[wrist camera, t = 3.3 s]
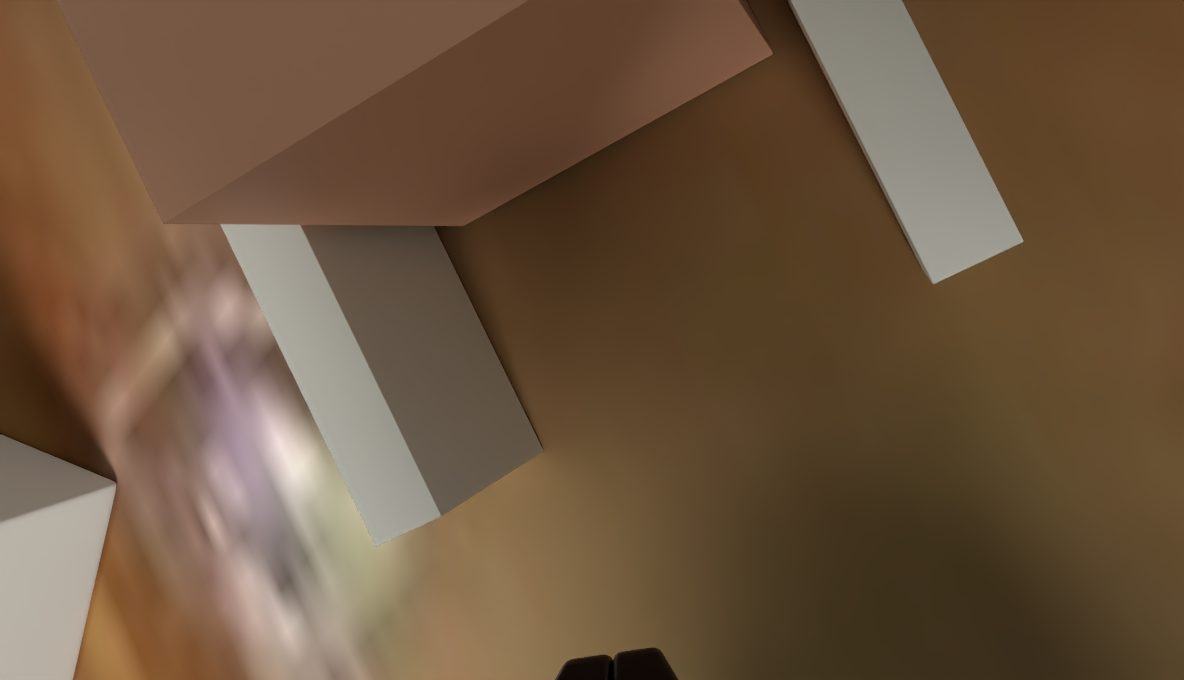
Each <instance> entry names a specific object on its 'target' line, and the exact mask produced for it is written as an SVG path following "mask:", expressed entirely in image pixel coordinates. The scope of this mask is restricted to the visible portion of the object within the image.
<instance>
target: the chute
mask: <svg viewBox="0 0 1184 680" xmlns="http://www.w3.org/2000/svg"><path fill="white" fill-rule="evenodd" d="M787 1H788V3H789V5H790V7H791V9H792V11H793V13H794V15H795V17H796V19H797V21H798V23H799V25H800V27H801V29H802V31H803V33H804V35H805V37H806V39H807V41H808V43H809V45H810V47H811V49H812V51H813V53H814V55H815V57H816V59H817V61H818V63H819V65H820V67H821V69H822V71H823V73H824V75H825V77H826V79H827V81H828V83H829V85H830V87H831V89H832V91H833V93H834V95H835V97H836V99H837V101H838V103H839V105H840V107H841V109H842V111H843V113H844V115H845V117H846V119H847V121H848V123H849V125H850V127H851V129H852V131H853V133H854V135H855V137H856V139H857V141H858V143H859V145H860V147H861V149H862V151H863V153H864V155H865V157H866V159H867V161H868V163H869V165H870V167H871V169H872V171H873V173H874V175H875V176H876V178H877V180H878V182H879V184H880V186H881V188H882V190H883V192H884V194H885V196H886V198H887V200H888V202H889V204H890V206H891V208H892V210H893V212H894V214H895V216H896V218H897V220H898V222H899V224H900V226H901V228H902V230H903V232H904V234H905V236H906V238H907V240H908V242H909V244H910V246H911V248H912V250H913V252H914V254H915V256H916V258H917V260H918V262H919V264H920V266H921V268H922V270H923V271H924V273H925V274H926V275H927V276H928V278H929V279H930V280H931V282H932V283H933V284H935V283H937V282H939V281H941V280H943V279H945V278H948V277H950V276H952V275H954V274H956V273H958V272H960V271H962V270H965V269H967V268H969V267H971V266H973V265H975V264H977V263H979V262H982V261H984V260H986V259H988V258H990V257H992V256H994V255H996V254H998V253H1001V252H1003V251H1005V250H1007V249H1009V248H1011V247H1013V246H1015V245H1018V244H1020V243H1022V242H1024V241H1023V239H1022V237H1021V235H1020V233H1019V231H1018V229H1017V227H1016V225H1015V223H1014V221H1013V219H1012V217H1011V215H1010V213H1009V211H1008V209H1007V207H1006V205H1005V203H1004V201H1003V199H1002V197H1001V195H1000V193H999V191H998V189H997V187H996V186H995V184H994V182H993V180H992V178H991V176H990V174H989V172H988V170H987V168H986V166H985V164H984V162H983V160H982V158H981V156H980V154H979V152H978V150H977V148H976V146H975V144H974V142H973V140H972V138H971V136H970V134H969V132H968V130H967V128H966V126H965V124H964V122H963V120H962V118H961V116H960V114H959V112H958V110H957V108H956V106H955V104H954V102H953V100H952V99H951V97H950V95H949V93H948V91H947V89H946V87H945V85H944V83H943V81H942V79H941V77H940V75H939V73H938V71H937V69H936V67H935V65H934V63H933V61H932V59H931V57H930V55H929V53H928V51H927V49H926V47H925V45H924V43H923V41H922V39H921V37H920V35H919V33H918V31H917V29H916V27H915V25H914V23H913V21H912V19H911V17H910V15H909V13H908V12H907V10H906V8H905V6H904V4H903V2H902V0H787ZM220 225H221V227H222V229H223V231H224V233H225V235H226V237H227V239H228V241H229V243H230V245H231V247H232V249H233V252H234V254H235V256H236V258H237V260H238V262H239V264H240V266H241V268H242V270H243V272H244V274H245V276H246V279H247V281H248V283H249V285H250V287H251V289H252V291H253V293H254V295H255V297H256V299H257V301H258V303H259V305H260V308H261V310H262V312H263V314H264V316H265V318H266V320H267V322H268V324H269V326H270V328H271V330H272V332H273V335H274V337H275V339H276V341H277V343H278V345H279V347H280V349H281V351H282V353H283V355H284V357H285V359H286V361H287V364H288V366H289V368H290V370H291V372H292V374H293V376H294V378H295V380H296V382H297V384H298V386H299V388H300V391H301V393H302V395H303V397H304V399H305V401H306V403H307V405H308V407H309V409H310V411H311V413H312V415H313V417H314V420H315V422H316V424H317V426H318V428H319V430H320V432H321V434H322V436H323V438H324V440H325V442H326V444H327V447H328V449H329V451H330V453H331V455H332V457H333V459H334V461H335V463H336V465H337V467H338V469H339V471H340V473H341V476H342V478H343V480H344V482H345V484H346V486H347V488H348V490H349V492H350V494H351V496H352V498H353V500H354V503H355V505H356V507H357V509H358V511H359V513H360V515H361V517H362V519H363V521H364V523H365V525H366V527H367V529H368V532H369V534H370V536H371V538H372V540H373V542H374V544H375V546H376V547H377V546H379V545H381V544H383V543H385V542H388V541H390V540H392V539H394V538H396V537H398V536H400V535H402V534H405V533H407V532H409V531H411V530H413V529H415V528H417V527H419V526H422V525H424V524H426V523H428V522H430V521H432V520H434V519H436V518H438V517H441V516H442V515H444V514H445V513H447V512H449V511H450V510H452V509H453V508H455V507H456V506H458V505H460V504H461V503H463V502H464V501H466V500H467V499H469V498H471V497H472V496H474V495H475V494H477V493H478V492H480V491H482V490H483V489H485V488H486V487H488V486H489V485H491V484H492V483H494V482H496V481H497V480H499V479H500V478H502V477H503V476H505V475H507V474H508V473H510V472H511V471H513V470H514V469H516V468H518V467H519V466H521V465H522V464H524V463H525V462H527V461H528V460H530V459H532V458H533V457H535V456H536V455H538V454H539V453H541V452H543V449H542V447H541V445H540V443H539V441H538V439H537V436H536V434H535V432H534V430H533V428H532V426H531V424H530V422H529V420H528V418H527V416H526V414H525V412H524V410H523V408H522V406H521V404H520V402H519V400H518V398H517V396H516V393H515V391H514V389H513V387H512V385H511V383H510V381H509V379H508V377H507V375H506V373H505V371H504V369H503V367H502V365H501V363H500V361H499V359H498V357H497V355H496V353H495V350H494V348H493V346H492V344H491V342H490V340H489V338H488V336H487V334H486V332H485V330H484V328H483V326H482V324H481V322H480V320H479V318H478V316H477V314H476V312H475V310H474V307H473V305H472V303H471V301H470V299H469V297H468V295H467V293H466V291H465V289H464V287H463V285H462V283H461V281H460V279H459V277H458V275H457V273H456V271H455V269H454V267H453V265H452V262H451V260H450V258H449V256H448V254H447V252H446V250H445V248H444V246H443V244H442V242H441V240H440V238H439V236H438V234H437V232H436V230H435V228H434V226H384V225H256V224H220Z"/></svg>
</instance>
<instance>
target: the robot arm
mask: <svg viewBox="0 0 1184 680" xmlns="http://www.w3.org/2000/svg"><path fill="white" fill-rule="evenodd" d="M555 680H678V678H677V677H676V675H675V673H674V672H673V670H672V668H671V666H670V665H669V663H668V661H667V660H666V658H665V656H664V655H663V653H662V652H661V651H660V650H659V649H657V648H645V649H638V650H631V651H625V652H620V653H618V654H617V655H615V658H614V660H613V659H612V658H611V657H610V656H608V655H597V656H590V657H584V658H577V659H572V660H569V661H567V662H566V663H565V664H564V666H563V667H562V668H561V670H560V672H559V674H558V675H557V677H556V679H555Z"/></svg>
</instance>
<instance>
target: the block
mask: <svg viewBox="0 0 1184 680" xmlns="http://www.w3.org/2000/svg"><path fill="white" fill-rule="evenodd" d="M56 2H57V4H58V6H59V8H60V10H61V12H62V14H63V16H64V18H65V20H66V22H67V25H68V27H69V29H70V31H71V33H72V35H73V37H74V39H75V41H76V43H77V45H78V47H79V50H80V52H81V54H82V56H83V58H84V60H85V62H86V64H87V66H88V68H89V70H90V72H91V75H92V77H93V79H94V81H95V83H96V85H97V87H98V89H99V91H100V93H101V95H102V97H103V99H104V102H105V104H106V106H107V108H108V110H109V112H110V114H111V116H112V118H113V120H114V122H115V124H116V127H117V129H118V131H119V133H120V135H121V137H122V139H123V141H124V143H125V145H126V147H127V149H128V152H129V154H130V156H131V158H132V160H133V162H134V164H135V166H136V168H137V170H138V172H139V174H140V176H141V179H142V181H143V183H144V185H145V187H146V189H147V191H148V193H149V195H150V197H151V199H152V201H153V204H154V206H155V208H156V210H157V212H158V214H159V216H160V218H161V220H162V222H163V224H256V225H384V226H465V225H467V224H468V223H470V222H472V221H474V220H476V219H477V218H479V217H481V216H483V215H485V214H486V213H488V212H490V211H492V210H494V209H495V208H497V207H499V206H501V205H503V204H504V203H506V202H508V201H510V200H512V199H513V198H515V197H517V196H519V195H521V194H522V193H524V192H526V191H528V190H530V189H531V188H533V187H535V186H537V185H539V184H540V183H542V182H544V181H546V180H548V179H549V178H551V177H553V176H555V175H557V174H558V173H560V172H562V171H564V170H566V169H567V168H569V167H571V166H573V165H575V164H576V163H578V162H580V161H582V160H584V159H585V158H587V157H589V156H591V155H593V154H594V153H596V152H598V151H600V150H602V149H603V148H605V147H607V146H609V145H610V144H612V143H614V142H616V141H618V140H619V139H621V138H623V137H625V136H627V135H628V134H630V133H632V132H634V131H636V130H637V129H639V128H641V127H643V126H645V125H646V124H648V123H650V122H652V121H654V120H655V119H657V118H659V117H661V116H663V115H664V114H666V113H668V112H670V111H672V110H673V109H675V108H677V107H679V106H681V105H682V104H684V103H686V102H688V101H690V100H691V99H693V98H695V97H697V96H699V95H700V94H702V93H704V92H706V91H708V90H709V89H711V88H713V87H715V86H717V85H718V84H720V83H722V82H724V81H726V80H727V79H729V78H731V77H733V76H735V75H736V74H738V73H740V72H742V71H744V70H745V69H747V68H749V67H751V66H753V65H754V64H756V63H758V62H760V61H762V60H763V59H765V58H767V57H769V56H771V55H772V54H773V52H772V50H771V48H770V46H769V44H768V42H767V40H766V38H765V36H764V34H763V32H762V30H761V28H760V26H759V24H758V22H757V20H756V18H755V16H754V14H753V12H752V10H751V8H750V6H749V4H748V2H747V0H56Z"/></svg>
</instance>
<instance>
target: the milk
mask: <svg viewBox="0 0 1184 680" xmlns="http://www.w3.org/2000/svg"><path fill="white" fill-rule="evenodd" d="M115 492H116V483H115V482H114V481H112V480H110V479H107V478H105V477H102V476H100V475H98V474H95V473H93V472H90V471H88V470H86V469H83V468H81V467H78V466H76V465H74V464H71V463H69V462H66V461H64V460H62V459H59V458H57V457H54V456H52V455H49V454H47V453H45V452H42V451H40V450H37V449H35V448H33V447H30V446H28V445H25V444H23V443H21V442H18V441H16V440H13V439H11V438H9V437H6V436H4V435H1V434H0V680H73V677H74V673H75V668H76V664H77V660H78V655H79V651H80V646H81V642H82V637H83V633H84V629H85V624H86V620H87V615H88V611H89V607H90V602H91V598H92V593H93V589H94V585H95V580H96V576H97V571H98V567H99V562H100V558H101V554H102V549H103V545H104V540H105V536H106V532H107V527H108V523H109V518H110V514H111V510H112V505H113V501H114V496H115Z"/></svg>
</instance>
